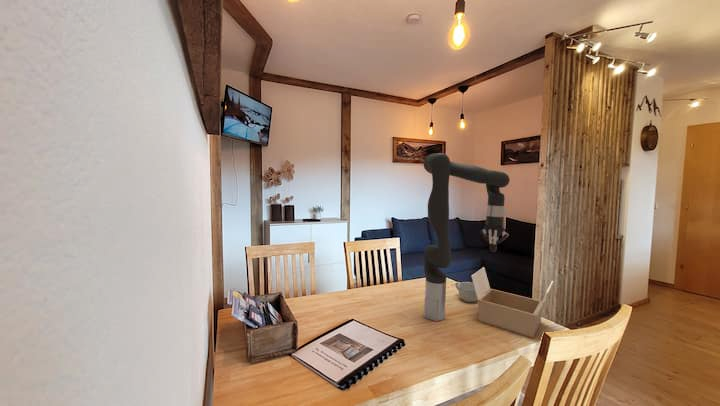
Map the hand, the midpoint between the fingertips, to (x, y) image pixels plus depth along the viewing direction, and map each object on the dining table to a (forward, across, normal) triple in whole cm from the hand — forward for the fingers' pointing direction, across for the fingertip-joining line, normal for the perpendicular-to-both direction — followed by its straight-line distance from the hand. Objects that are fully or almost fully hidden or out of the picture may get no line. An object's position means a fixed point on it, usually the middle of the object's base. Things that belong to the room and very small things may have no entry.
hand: (492, 251), depth 138 cm
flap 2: (+15, +22, -2) cm, 27 cm away
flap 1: (+15, -3, -3) cm, 16 cm away
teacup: (+30, -15, +10) cm, 35 cm away
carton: (+30, +10, -2) cm, 32 cm away
